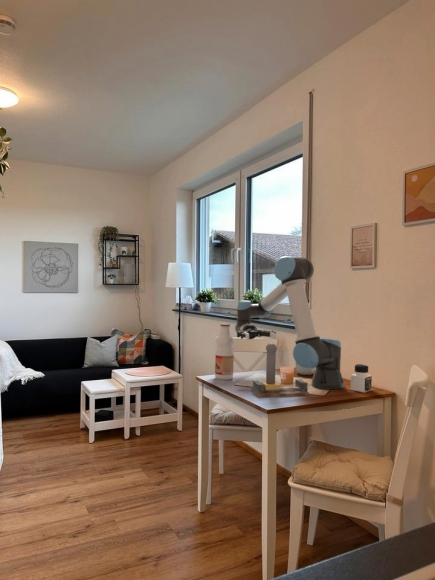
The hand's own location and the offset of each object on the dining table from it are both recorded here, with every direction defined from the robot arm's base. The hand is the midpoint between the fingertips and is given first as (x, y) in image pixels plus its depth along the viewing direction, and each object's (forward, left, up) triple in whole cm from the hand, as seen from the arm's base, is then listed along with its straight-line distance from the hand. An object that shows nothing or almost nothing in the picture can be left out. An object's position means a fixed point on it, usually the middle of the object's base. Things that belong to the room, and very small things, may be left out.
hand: (261, 336), depth 203 cm
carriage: (0, +13, -21) cm, 25 cm away
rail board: (-5, +13, -24) cm, 28 cm away
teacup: (-35, -27, -24) cm, 51 cm away
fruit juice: (+13, -21, -24) cm, 35 cm away
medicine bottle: (-45, +13, -24) cm, 53 cm away
